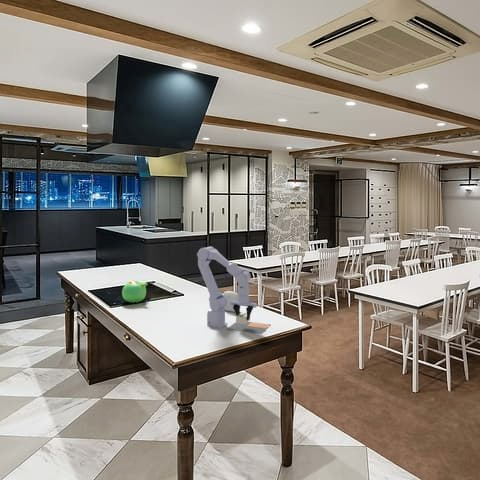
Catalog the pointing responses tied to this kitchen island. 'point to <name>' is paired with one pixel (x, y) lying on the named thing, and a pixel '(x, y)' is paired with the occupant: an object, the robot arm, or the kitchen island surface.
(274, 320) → the kitchen island surface
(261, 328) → the mat
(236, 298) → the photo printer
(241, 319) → the card deck
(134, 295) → the green apple
